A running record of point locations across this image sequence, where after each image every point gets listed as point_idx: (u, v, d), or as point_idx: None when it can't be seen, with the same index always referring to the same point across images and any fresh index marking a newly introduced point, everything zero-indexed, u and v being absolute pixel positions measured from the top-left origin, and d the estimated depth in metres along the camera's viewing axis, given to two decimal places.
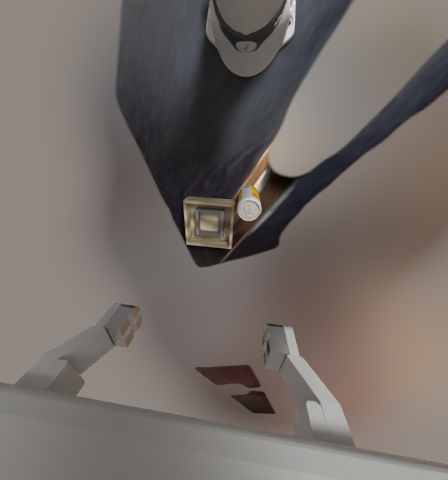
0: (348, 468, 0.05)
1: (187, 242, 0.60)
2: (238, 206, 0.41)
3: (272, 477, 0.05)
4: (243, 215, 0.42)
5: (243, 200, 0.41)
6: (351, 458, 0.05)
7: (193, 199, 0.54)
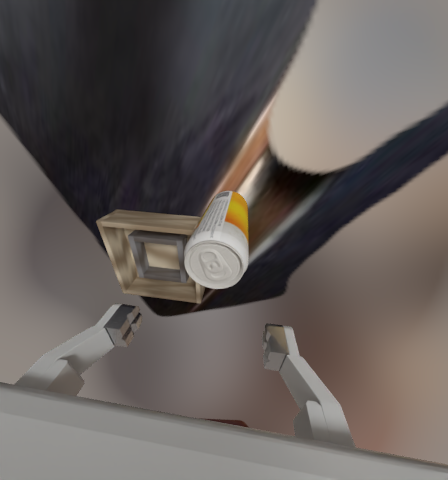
0: (348, 468, 0.05)
1: (124, 290, 0.34)
2: (185, 253, 0.15)
3: (272, 477, 0.05)
4: (200, 275, 0.16)
5: (196, 239, 0.14)
6: (351, 458, 0.05)
7: (120, 217, 0.27)
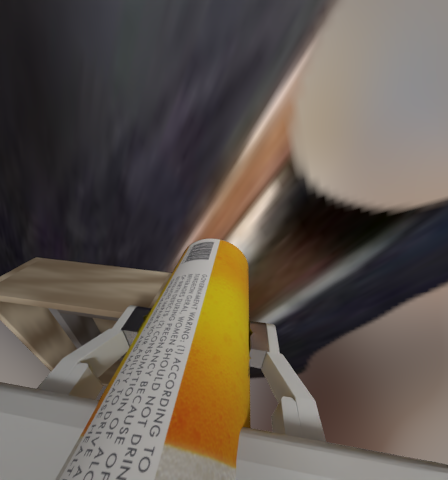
0: (348, 468, 0.05)
1: None
2: None
3: (272, 477, 0.05)
4: None
5: None
6: (351, 458, 0.05)
7: (26, 279, 0.16)
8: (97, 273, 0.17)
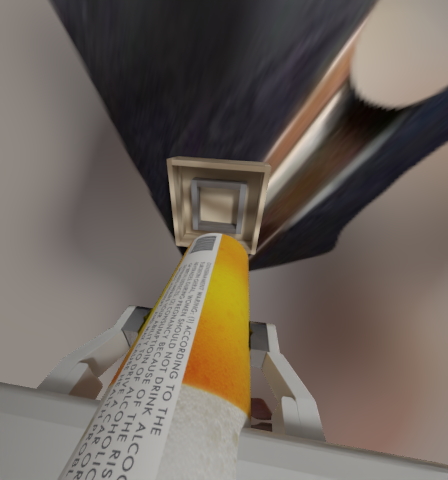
0: (348, 468, 0.05)
1: (177, 242, 0.34)
2: None
3: (272, 477, 0.05)
4: None
5: None
6: (351, 458, 0.05)
7: (187, 159, 0.27)
8: (222, 160, 0.29)
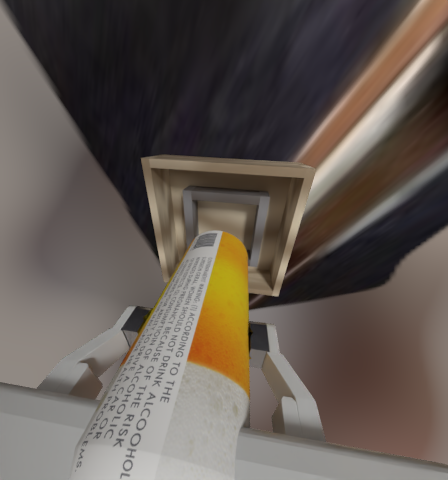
0: (348, 468, 0.05)
1: (165, 278, 0.24)
2: None
3: (272, 477, 0.05)
4: None
5: None
6: (351, 458, 0.05)
7: (176, 158, 0.17)
8: (231, 159, 0.18)
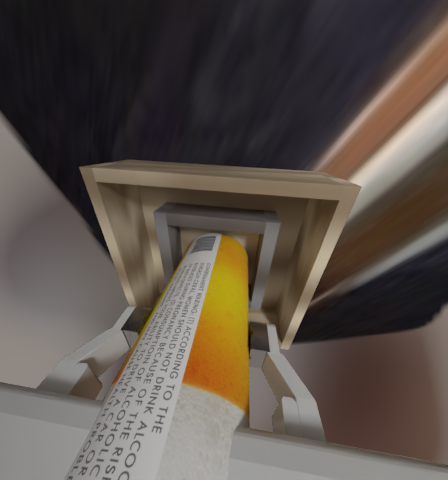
0: (348, 468, 0.05)
1: None
2: None
3: (272, 477, 0.05)
4: None
5: None
6: (351, 458, 0.05)
7: (140, 166, 0.11)
8: (223, 167, 0.13)
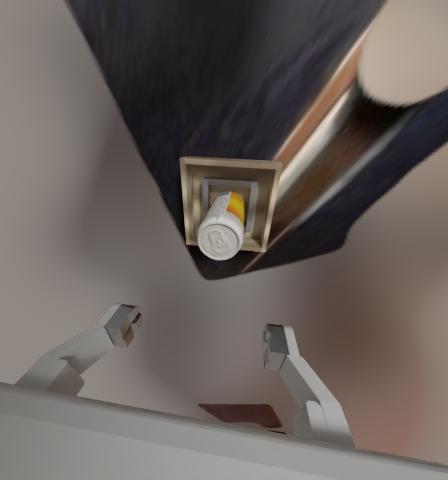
0: (348, 468, 0.05)
1: (188, 240, 0.34)
2: (198, 233, 0.21)
3: (272, 477, 0.05)
4: (209, 250, 0.22)
5: (206, 223, 0.20)
6: (351, 458, 0.05)
7: (199, 158, 0.28)
8: (233, 159, 0.29)
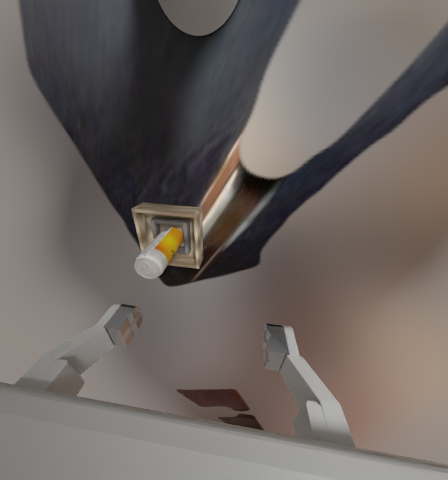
0: (348, 468, 0.05)
1: None
2: (135, 263, 0.35)
3: (272, 477, 0.05)
4: (143, 273, 0.35)
5: (138, 257, 0.34)
6: (351, 458, 0.05)
7: (146, 207, 0.42)
8: (171, 206, 0.43)
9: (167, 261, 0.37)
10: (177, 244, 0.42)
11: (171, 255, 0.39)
